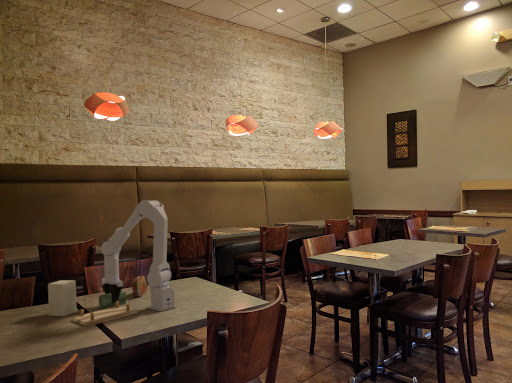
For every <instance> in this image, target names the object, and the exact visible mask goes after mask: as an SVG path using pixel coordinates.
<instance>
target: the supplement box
mask: <svg viewBox="0 0 512 383" xmlns="http://www.w3.org/2000/svg"><path fill="white" fill-rule="evenodd" d="M76 285H77V283H76V280H73V279H72V280H70V279H69V280H63V279H62V280H61V279H59V280H57V281H54V282H49V283H47V294H48V316H49V317H50V316H52V317H66V316H69V315H71V314H73V313H76V312H77V286H76Z"/></svg>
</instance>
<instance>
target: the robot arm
mask: <svg viewBox="0 0 512 383" xmlns="http://www.w3.org/2000/svg"><path fill="white" fill-rule="evenodd" d="M164 207H165V206H164V204H163V203H162V202H160V200H156V199H155V200H154V199H153V200H146V199H145V200H141V201H140V202H138V204H137V205H136V206H135V207H134V211H133V212H132V213H131V215H130V216H129V218H128V219H127V220H126V222H125V223H124V224H123V226H120V227H117V228H116V229H115V230H114V233H113V234H112V236H110V237H109V238H108V240H107V241H104V242H102V244H101V246H100V250H101V253H102V255H103V258H104V259H103V260H104V265H103V266H104V277H103V278H101V289H103V292H104V294H109V293H111V296H112V302H113V303H115V301H118V300H119V296H120V292H121V291H123V290H122V289H123V288H124V281H122V280H121V279H120V264H119V263H120V261H119V260H120V259H119V257H120V252H122V246H123V245H124V244H125V242H126V241H127V240H128V239H129V237H130V236H131V235H130V234H131V233H130V232H131V231H132V230H133V228H134V227H135V226H137V225H138V223H139V222H140V221H141V220H142V219H145V218H146V219H148V220H149V221H151V222H152V223H153V242H152V243H153V244H152V245H153V246H152V247H153V248H152V249H153V250H152V252H153V253H152V263H151V264H150V267H149V272H148V274H147V276H146V279H147V284H149V286H150V302H151V303H150V305H148V306H146V308H147V309H151V310H154V311H157V312H162V311H163V312H164V311H167V310H170V309H173V308H176V307H177V305H175V291H174V289H173V288H172V287H170V281H171V278H172V272H171V270H170V268H171V267H170V264H169V262H168V261H167V257H168V256H167V255H168V254H167V253H168V252H167V251H168V226H169V225H168V224H169V222H168V221H169V218H168V216H167V213H166V211H165V209H164Z"/></svg>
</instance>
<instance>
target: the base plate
mask: <svg viewBox="0 0 512 383" xmlns="http://www.w3.org/2000/svg"><path fill="white" fill-rule="evenodd" d="M115 305H116V306H115V307H111V308H107V309H101V310H96V311H93V312H92V311H91V312H88V313H85V310H84V308H80V310H79V312H80V313H79V315H76V316H72V317H71V320H72V322H75V323H77V324H80V325H83V326H85V327H90V326H93V325H98V324H101V322H102V323H106V322H108V321H114V320H116V319H120V318H125V317H127V316H131V315H134V314H138V309H135V308H132V307H130V304H129V303H126V304H125V305H119V301H115ZM84 313H85V314H84Z"/></svg>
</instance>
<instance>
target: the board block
mask: <svg viewBox="0 0 512 383" xmlns="http://www.w3.org/2000/svg"><path fill="white" fill-rule="evenodd" d="M118 301H119V306H120V305H122V306H124V305H126V304H127V292H126V291H123V290H121V292H120V296H119V300H118ZM98 306H99V309H101V310H104V309H108V308H112V307H116V305H115V303H113V302H112V296H111V293H109V294H105V293H104V294H101V295H98Z"/></svg>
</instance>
